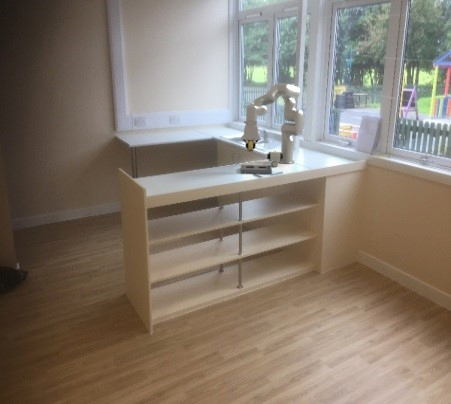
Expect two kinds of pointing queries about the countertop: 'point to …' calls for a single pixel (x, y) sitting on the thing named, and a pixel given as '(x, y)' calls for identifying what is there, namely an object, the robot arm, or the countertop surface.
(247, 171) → the jig
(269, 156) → the pneumatic valve
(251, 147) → the bushing
